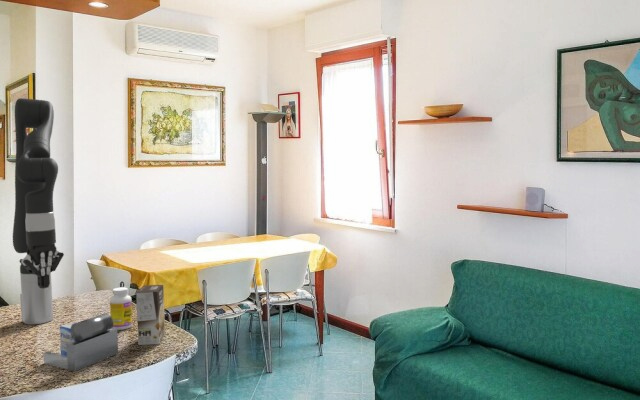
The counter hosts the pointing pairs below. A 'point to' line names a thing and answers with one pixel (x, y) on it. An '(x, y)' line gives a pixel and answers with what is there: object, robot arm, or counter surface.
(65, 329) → the medicine box
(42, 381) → the counter surface
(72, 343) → the motor dock
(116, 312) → the supplement bottle
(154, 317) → the coffee box
